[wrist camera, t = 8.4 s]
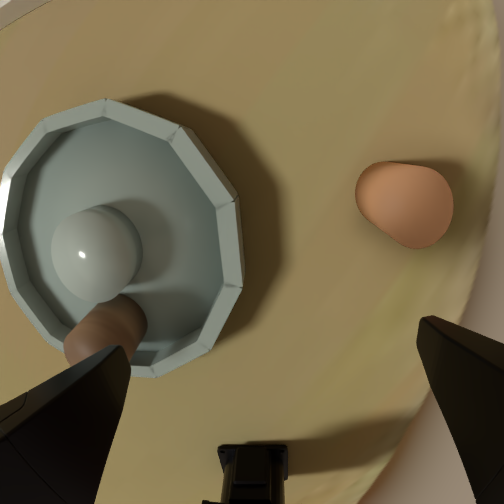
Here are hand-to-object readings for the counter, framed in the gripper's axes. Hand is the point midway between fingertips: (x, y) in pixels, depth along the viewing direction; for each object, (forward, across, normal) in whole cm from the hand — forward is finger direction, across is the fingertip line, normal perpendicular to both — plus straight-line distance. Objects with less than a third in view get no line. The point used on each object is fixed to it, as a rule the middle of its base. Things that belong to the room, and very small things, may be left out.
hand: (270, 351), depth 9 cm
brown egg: (+11, -8, -2) cm, 14 cm away
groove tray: (+11, +10, -1) cm, 15 cm away
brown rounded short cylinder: (+10, +11, +4) cm, 16 cm away
